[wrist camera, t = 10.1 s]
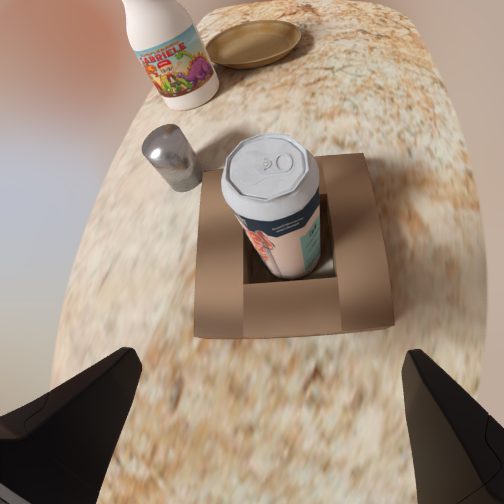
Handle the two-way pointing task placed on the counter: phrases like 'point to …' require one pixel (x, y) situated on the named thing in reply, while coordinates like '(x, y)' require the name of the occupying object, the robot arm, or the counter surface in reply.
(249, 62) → the plant saucer
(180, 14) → the milk bottle
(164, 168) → the short steel pin
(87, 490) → the robot arm
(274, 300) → the walnut collar
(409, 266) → the counter surface
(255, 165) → the beer can
